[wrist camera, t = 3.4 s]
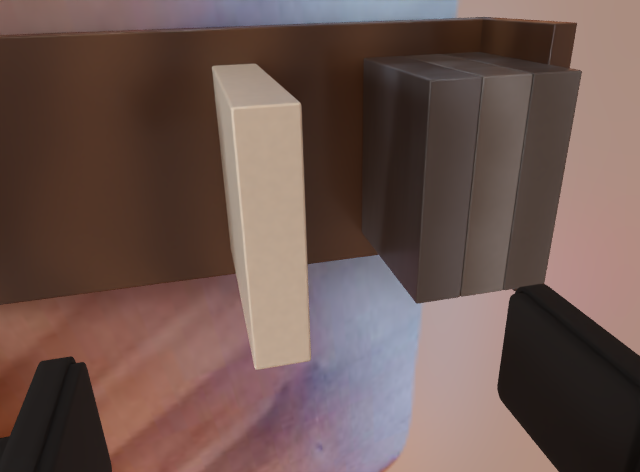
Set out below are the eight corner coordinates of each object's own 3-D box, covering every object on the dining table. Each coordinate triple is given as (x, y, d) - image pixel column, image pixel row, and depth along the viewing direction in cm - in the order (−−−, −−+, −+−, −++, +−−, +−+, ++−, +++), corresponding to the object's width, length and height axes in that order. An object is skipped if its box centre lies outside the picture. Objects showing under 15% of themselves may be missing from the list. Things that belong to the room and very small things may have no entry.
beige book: (256, 63, 24) (301, 102, 15) (269, 244, 27) (311, 361, 19) (211, 65, 23) (230, 107, 14) (230, 248, 27) (254, 371, 18)
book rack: (485, 16, 27) (615, 25, 19) (464, 232, 32) (559, 310, 24) (-269, 44, 20) (-562, 75, 12) (-146, 309, 25) (-298, 453, 17)
